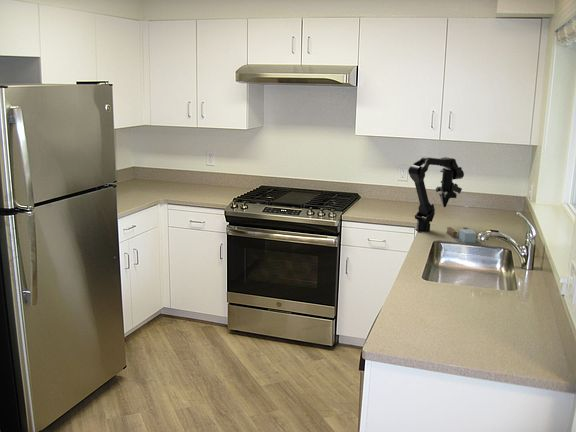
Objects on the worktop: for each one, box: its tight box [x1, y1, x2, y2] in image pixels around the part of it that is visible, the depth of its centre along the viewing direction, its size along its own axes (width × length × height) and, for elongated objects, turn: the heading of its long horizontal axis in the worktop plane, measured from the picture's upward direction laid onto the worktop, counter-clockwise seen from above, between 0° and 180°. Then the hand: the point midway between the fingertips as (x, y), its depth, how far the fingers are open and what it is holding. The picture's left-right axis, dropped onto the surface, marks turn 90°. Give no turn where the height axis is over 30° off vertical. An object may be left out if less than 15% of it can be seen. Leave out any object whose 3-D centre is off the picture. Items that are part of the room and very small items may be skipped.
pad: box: [451, 237, 482, 245], centre depth 316 cm, size 12×12×1 cm
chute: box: [446, 226, 469, 238], centre depth 326 cm, size 12×10×3 cm
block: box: [458, 228, 477, 243], centre depth 316 cm, size 6×8×5 cm
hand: (444, 207), depth 340 cm, fingers closed
